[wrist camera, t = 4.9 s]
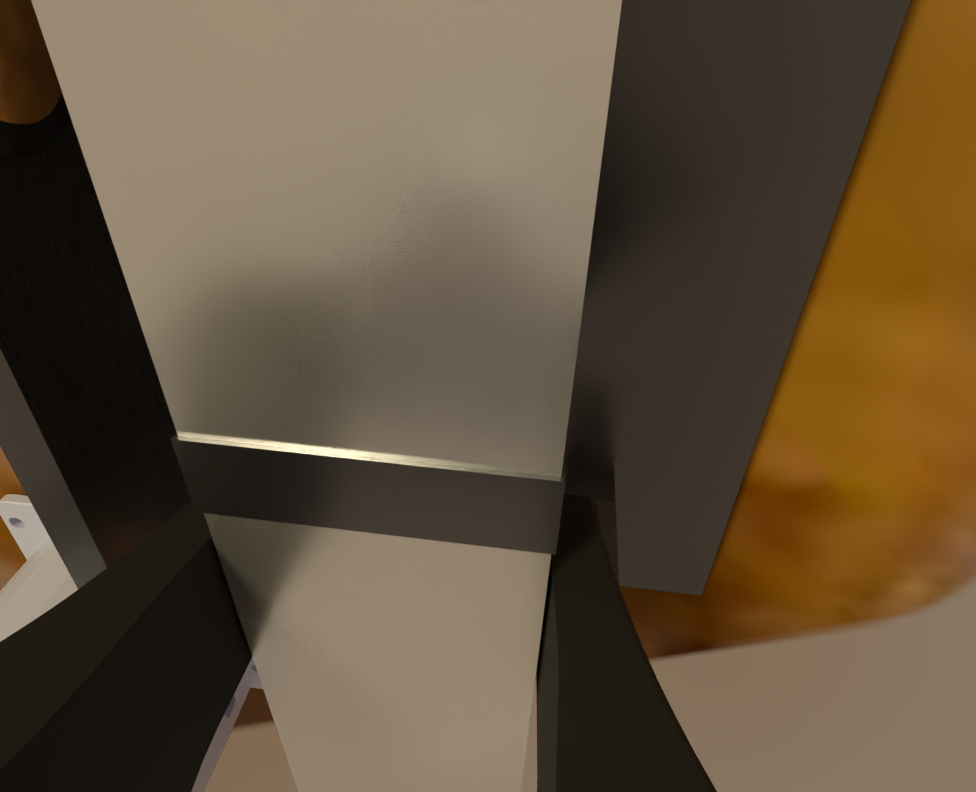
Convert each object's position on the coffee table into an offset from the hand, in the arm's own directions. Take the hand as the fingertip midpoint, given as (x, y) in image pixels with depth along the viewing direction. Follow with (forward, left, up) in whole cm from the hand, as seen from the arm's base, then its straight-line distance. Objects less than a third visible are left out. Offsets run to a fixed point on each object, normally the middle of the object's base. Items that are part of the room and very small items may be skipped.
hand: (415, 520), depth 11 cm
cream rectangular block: (0, 0, -2) cm, 2 cm away
